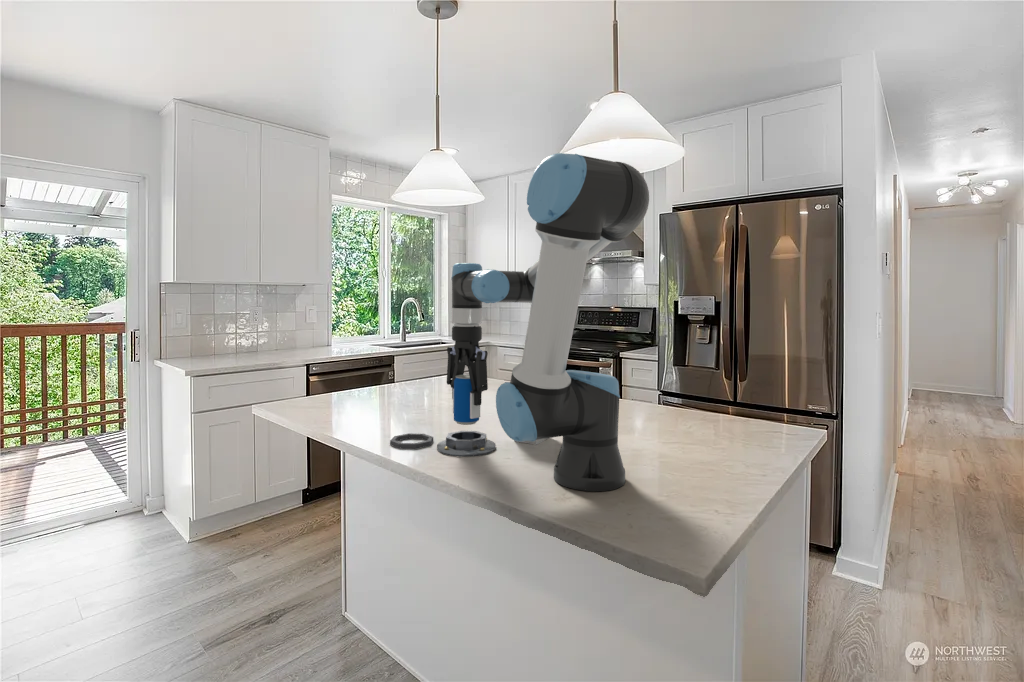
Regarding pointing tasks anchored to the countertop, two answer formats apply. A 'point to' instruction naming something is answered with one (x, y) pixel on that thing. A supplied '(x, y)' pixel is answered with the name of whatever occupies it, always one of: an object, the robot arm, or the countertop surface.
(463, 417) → the beverage can
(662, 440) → the countertop surface
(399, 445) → the stand ring
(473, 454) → the hub socket
